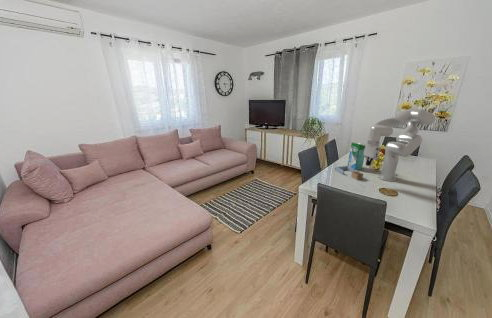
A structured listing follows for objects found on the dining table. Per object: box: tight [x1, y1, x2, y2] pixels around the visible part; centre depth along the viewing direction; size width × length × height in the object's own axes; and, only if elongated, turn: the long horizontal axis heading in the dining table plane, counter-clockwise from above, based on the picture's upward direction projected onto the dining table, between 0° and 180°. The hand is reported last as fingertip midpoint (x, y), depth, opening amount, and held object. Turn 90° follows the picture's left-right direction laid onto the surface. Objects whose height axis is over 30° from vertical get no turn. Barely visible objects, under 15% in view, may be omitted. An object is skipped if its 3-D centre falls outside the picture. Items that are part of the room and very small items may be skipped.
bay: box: [334, 165, 356, 175], centre depth 180 cm, size 13×10×4 cm
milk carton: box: [347, 142, 366, 171], centre depth 185 cm, size 9×9×25 cm
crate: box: [350, 170, 364, 181], centre depth 166 cm, size 6×6×5 cm
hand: (368, 165), depth 154 cm, fingers closed
